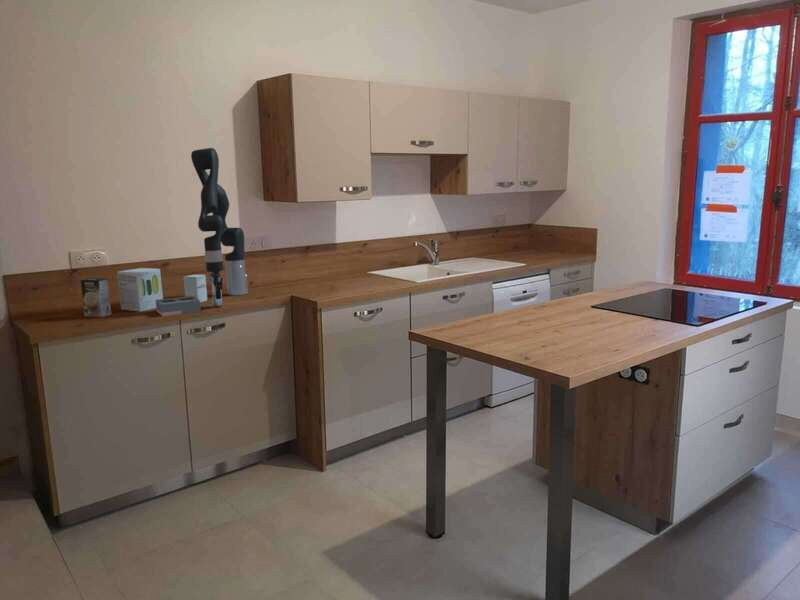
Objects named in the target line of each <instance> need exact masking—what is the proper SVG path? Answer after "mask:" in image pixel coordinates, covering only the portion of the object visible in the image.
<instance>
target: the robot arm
mask: <svg viewBox="0 0 800 600" xmlns="http://www.w3.org/2000/svg"><path fill="white" fill-rule="evenodd" d="M219 160H220V159H219V155H218V152H217V150H216V149H215V148H214V147H208V148H203V149H195V150H193V151H191V161H192V165H193V167H194V170H195V172H196V174H197V176H198V179H199V180H200V183H201V185H202V188H201V192H200V202H201V203H200V205H201V206H200V207H201V208H200V215H199V218H198V221H197V223H198V225H197V226H198V229H199V230H200V231H201V232H205V233H207V232H215V233H214V234H213V235H211V236H210V235H209V236H207V237H205V238H204V240H203V242H204V262H205V270H206V272H208V273H210V274H208V277H209V284H210V288H211V289H212V283H213V286H215V294H216V299H221V293H222V290H223V277H222V275H221V273H220V272H222V271H224V260H225V276H226V285H227V295H228V296H241V295H242V296H243V295H247V294H249V290H248V277H247V276H248V275H247V274H246V265H245V251H246V250H245V234H244V233H245V232H244V230H243V229H242V228H241V227H228V226H227V223H226V218H227V214H228V212H229V209H230V202H229V198H228V195H227V192H226V191H225V188H224V187H222V186H221V185H220V184H218V182H219V181H218V179H219V168H220V167H219V165H220V162H219ZM206 170H209V173H208V172H207V171H206ZM209 214H210V215H209ZM211 214H212V215H211ZM222 246H224V247H233V250H232V251H230V252H229V253H226V254H225V255H224V259H223V251H222ZM215 283H216V284H215ZM218 285H219V287H218Z"/></svg>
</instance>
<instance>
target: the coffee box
mask: <svg viewBox="0 0 800 600" xmlns="http://www.w3.org/2000/svg"><path fill="white" fill-rule="evenodd" d="M80 286H81V293H82V294H81V295H82V303H83V304H82V305H83V312H84V313H83V315H84V317H88V318H91V317H93V318H104V317H107V316H111V315H112V310H111V300H110V289H109V280H108V278H107V277H105V278H104V277H89V278H83V279H80Z"/></svg>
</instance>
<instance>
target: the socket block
mask: <svg viewBox="0 0 800 600" xmlns="http://www.w3.org/2000/svg"><path fill="white" fill-rule="evenodd" d="M155 309H156V312H157V313H158V314H159V315H160V316H161V317H168V316H175V315H176V316H177V315H184V314H192V313H193V314H194V313H200V312H202V309H201V302H200V300H199V299H197V298H195V297H194V296H187V297H185V296H181V297H179V296H178V297H172V298H170V297H169V298H163V299H160V300H156V308H155Z"/></svg>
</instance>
